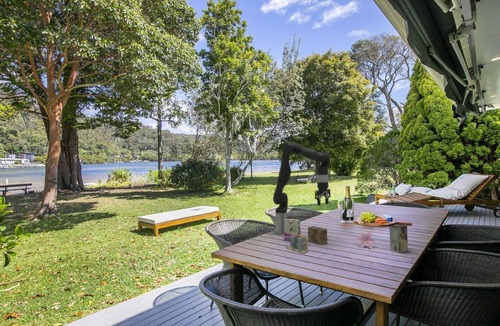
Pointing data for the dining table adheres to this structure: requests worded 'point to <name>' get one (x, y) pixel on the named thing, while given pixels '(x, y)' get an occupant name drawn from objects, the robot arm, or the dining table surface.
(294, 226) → the candy bar box
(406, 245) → the coffee box
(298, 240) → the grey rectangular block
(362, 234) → the lily
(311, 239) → the walnut bookend
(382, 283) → the dining table surface
